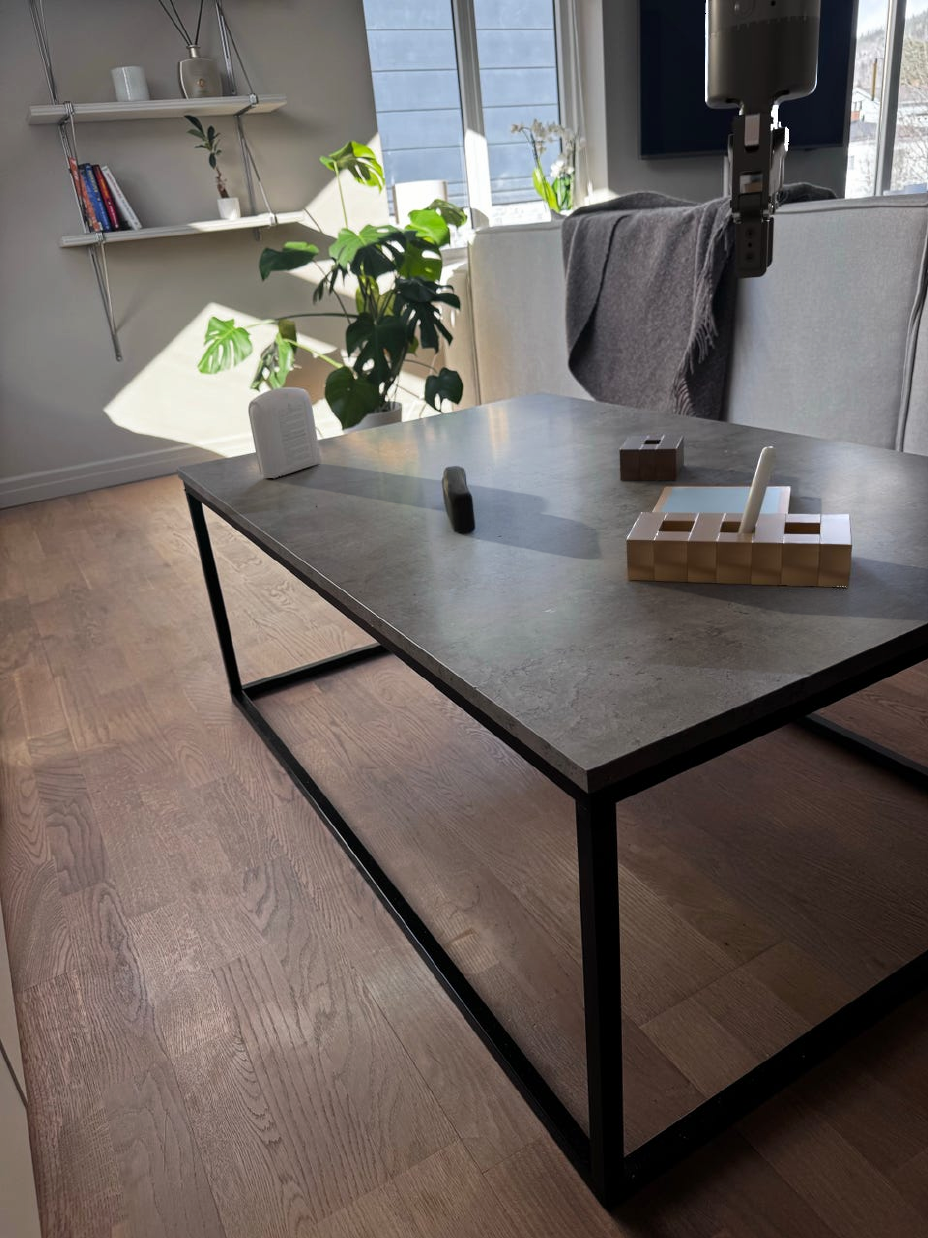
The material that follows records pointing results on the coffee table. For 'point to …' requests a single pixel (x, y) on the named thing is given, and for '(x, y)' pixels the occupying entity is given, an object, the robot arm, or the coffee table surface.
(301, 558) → the coffee table surface
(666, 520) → the pen holder
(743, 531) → the stylus
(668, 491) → the tablet
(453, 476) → the dark grey tall block
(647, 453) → the stand
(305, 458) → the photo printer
